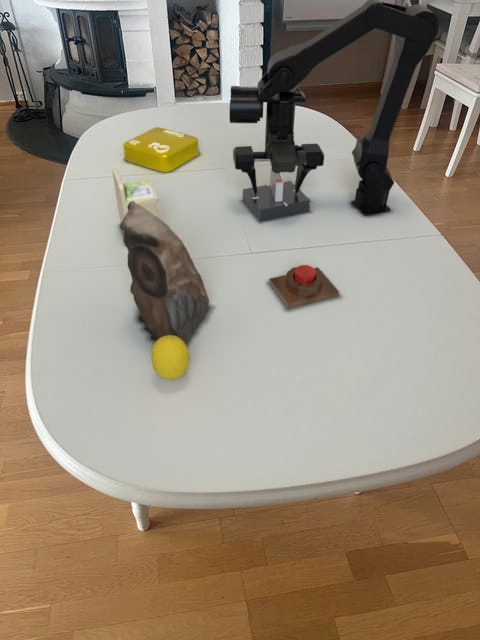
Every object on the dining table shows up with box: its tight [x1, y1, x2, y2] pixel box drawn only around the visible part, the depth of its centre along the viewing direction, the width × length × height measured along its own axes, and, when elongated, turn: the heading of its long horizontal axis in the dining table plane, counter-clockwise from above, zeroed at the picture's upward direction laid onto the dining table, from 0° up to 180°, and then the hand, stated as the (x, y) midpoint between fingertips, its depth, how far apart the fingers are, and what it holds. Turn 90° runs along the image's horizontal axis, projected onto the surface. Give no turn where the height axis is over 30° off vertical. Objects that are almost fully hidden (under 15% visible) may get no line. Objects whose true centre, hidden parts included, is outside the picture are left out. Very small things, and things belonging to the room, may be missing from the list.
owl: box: [119, 201, 211, 345], centre depth 81 cm, size 13×13×20 cm
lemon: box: [150, 335, 191, 381], centre depth 76 cm, size 6×6×8 cm
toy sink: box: [111, 168, 159, 233], centre depth 105 cm, size 8×7×13 cm
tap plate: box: [242, 180, 311, 223], centre depth 117 cm, size 12×11×3 cm
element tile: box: [122, 126, 200, 173], centre depth 136 cm, size 15×15×5 cm
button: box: [294, 264, 316, 284], centre depth 92 cm, size 4×4×2 cm
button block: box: [269, 266, 340, 310], centre depth 94 cm, size 10×8×3 cm
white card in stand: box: [269, 168, 284, 202], centre depth 114 cm, size 7×2×5 cm, turn 6°
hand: (276, 193), depth 116 cm, fingers open, 9 cm apart
